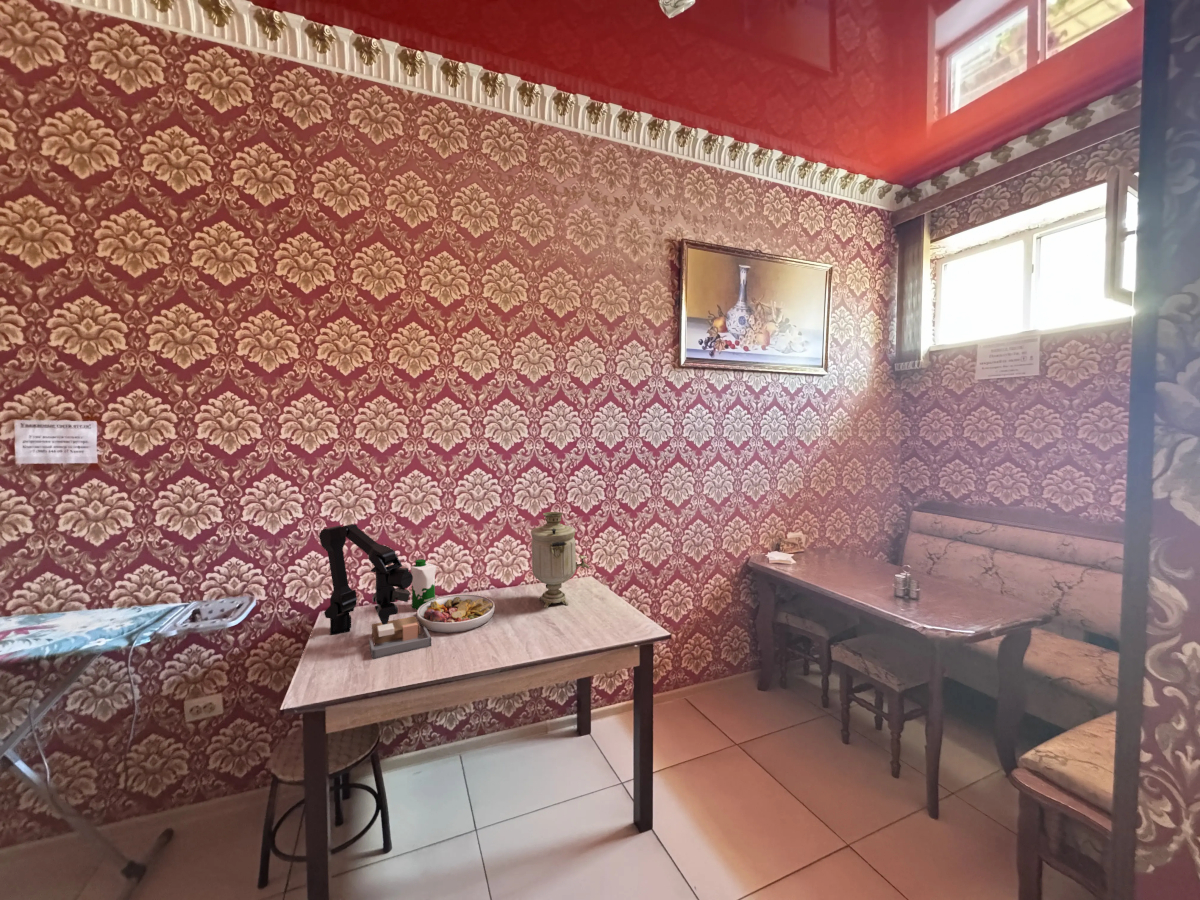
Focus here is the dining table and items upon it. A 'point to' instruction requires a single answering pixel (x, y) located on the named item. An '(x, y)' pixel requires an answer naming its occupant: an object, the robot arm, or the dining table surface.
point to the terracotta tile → (409, 631)
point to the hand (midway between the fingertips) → (385, 626)
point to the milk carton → (422, 583)
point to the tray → (399, 645)
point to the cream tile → (385, 629)
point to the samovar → (554, 556)
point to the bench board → (397, 630)
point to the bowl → (455, 612)
